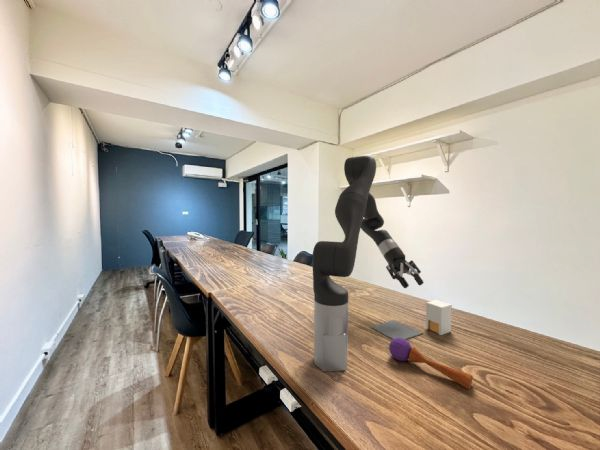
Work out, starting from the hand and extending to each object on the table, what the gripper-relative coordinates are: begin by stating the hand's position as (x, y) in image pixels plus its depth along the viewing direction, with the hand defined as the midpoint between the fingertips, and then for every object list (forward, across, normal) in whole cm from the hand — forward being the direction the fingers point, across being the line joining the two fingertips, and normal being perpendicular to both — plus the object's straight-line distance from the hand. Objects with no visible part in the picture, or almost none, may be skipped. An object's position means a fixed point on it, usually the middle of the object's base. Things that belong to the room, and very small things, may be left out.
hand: (414, 285), depth 99 cm
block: (+16, 0, +2) cm, 17 cm away
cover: (+16, 0, +2) cm, 17 cm away
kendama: (+26, -24, -6) cm, 36 cm away
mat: (+12, -13, +7) cm, 19 cm away
